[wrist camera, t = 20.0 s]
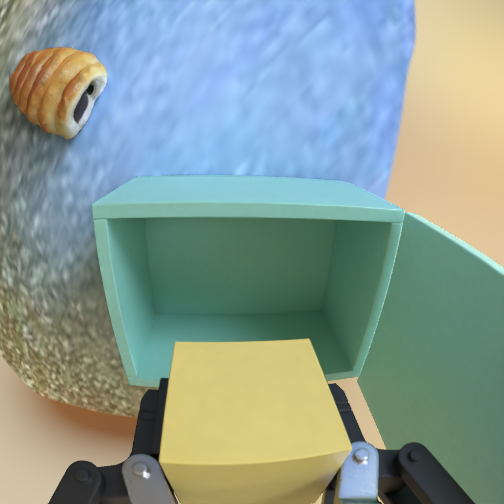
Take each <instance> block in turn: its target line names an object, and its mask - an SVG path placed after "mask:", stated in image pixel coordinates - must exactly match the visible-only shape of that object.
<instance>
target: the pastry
mask: <svg viewBox="0 0 504 504" xmlns="http://www.w3.org/2000/svg"><path fill="white" fill-rule="evenodd" d="M9 81H10V91H11V94H12V95H13V101H14V103H15V104H16V105H18V106H19V110H20V111H21V112H22V113H23V114H25V115H26V116H27V119H28V120H29V121H30V122H31V123H33V124H38V125H39V126H40V127H41V129H42V130H43V131H44V132H47V133H53V134H58V135H60V136H62V137H64V138H65V139H71V138H73V137H75V136H76V135H77V133H78V131H80V130H81V129H82V127H83V126H84V125H85V123H86V121H87V120H88V118H89V116H90V113H91V110H92V108H93V105H94V102H95V100H96V98H97V97H99V95H100V94H101V93H102V91H103V89H104V87H105V85H106V83H107V71H106V69H105V67H104V65H103V64H101V63H100V62H99V61H98V60H97V58H96V57H95V56H94V55H93V54H91V53H89V52H82V51H80V50H75V49H73V48H70V47H66V48H62V47H56V48H47V49H45V50H41V51H33V52H31V53H28V54H26V55H25V56H24V57H23V58H22V59H21V61H20V62H19V64H18V66H17V67H16V69H15V71H14V72H13V73H12V74H11V76H10V78H9Z"/></svg>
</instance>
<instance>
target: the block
mask: <svg viewBox="0 0 504 504" xmlns="http://www.w3.org/2000/svg"><path fill="white" fill-rule="evenodd" d="M351 450H352V445H351V443H350V440H349V438H348V435H347V432H346V430H345V427H344V425H343V422H342V419H341V417H340V414H339V412H338V409H337V406H336V404H335V401H334V399H333V396H332V394H331V391H330V389H329V386H328V384H327V381H326V378H325V376H324V373H323V371H322V368H321V366H320V363H319V361H318V358H317V356H316V353H315V351H314V348H313V346H312V343H311V341H310V339H293V340H274V341H245V342H179V341H176V342H175V343H174V349H173V355H172V362H171V368H170V374H169V381H168V388H167V395H166V403H165V410H164V418H163V426H162V435H161V444H160V453H159V463H160V465H161V467H162V469H163V471H164V473H165V475H166V477H167V479H168V481H169V483H170V485H171V487H172V489H173V491H174V492H175V494H176V496H177V498H178V500H179V502H180V503H181V504H313V503H315V502H316V501H317V499H318V498H319V497H320V495H321V494H322V493H323V491H324V490H325V489H326V487H327V486H328V485H329V483H330V482H331V480H332V479H333V477H334V476H335V475H336V473H337V472H338V470H339V469H340V467H341V466H342V464H343V463H344V461H345V460H346V458H347V457H348V455H349V453H350V452H351Z"/></svg>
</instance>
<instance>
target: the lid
mask: <svg viewBox="0 0 504 504" xmlns="http://www.w3.org/2000/svg"><path fill="white" fill-rule="evenodd" d="M357 382H358V384H359V386H360V389H361V391H362V393H363V396H364V398H365V400H366V402H367V405H368V407H369V409H370V412H371V414H372V416H373V418H374V421H375V423H376V425H377V428H378V429H379V432H380V435H381V437H382V440H383V442H384V444H385V447H386V449H387V450H400V449H401V448H402V447H403V446H404V445H405V444H407V443H411V442H417V443H420V444H422V445H424V446H425V447H426V448H427V449H428V450H429V451H430V452H431V454H432V455H433V456H434V457H435V458H436V459H437V460H438V462H439V463H440V464H441V465H442V466H443V467H444V468H445V470H446V471H447V472H448V473H449V474H450V475H451V476H452V478H453V479H454V480H455V481H456V482H457V483H458V484H459V486H460V487H461V488H462V489H463V490H464V491H465V492H466V494H467V495H468V496H469V497H470V498H471V499H472V500H473V502H474V503H475V504H504V268H503V267H502V266H500V265H499V264H497V263H496V262H495V261H493V260H492V259H490V258H489V257H487V256H485V255H484V254H483V253H481V252H479V251H478V250H476V249H475V248H473V247H472V246H470V245H469V244H467V243H465V242H464V241H462V240H461V239H459V238H457V237H456V236H454V235H452V234H451V233H449V232H447V231H446V230H444V229H442V228H441V227H439V226H437V225H435V224H434V223H432V222H430V221H428V220H427V219H425V218H423V217H421V216H419V215H417V214H415V213H408V212H406V213H405V214H404V219H403V225H402V230H401V235H400V240H399V244H398V249H397V253H396V258H395V262H394V266H393V270H392V274H391V278H390V282H389V286H388V290H387V293H386V297H385V300H384V304H383V307H382V311H381V314H380V317H379V321H378V324H377V327H376V330H375V333H374V336H373V339H372V342H371V345H370V348H369V351H368V354H367V356H366V359H365V362H364V365H363V367H362V370H361V373H360V375H359V378H358V380H357Z"/></svg>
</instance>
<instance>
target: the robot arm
mask: <svg viewBox="0 0 504 504" xmlns="http://www.w3.org/2000/svg"><path fill="white" fill-rule="evenodd" d="M324 376H325V375H324ZM325 378H326V377H325ZM168 381H169V378H161V379H160V384H159V390H150V389H149V390H148V391H147V392H146V394H145V395H144V396H143V397H142V399H141V404H140V411H139V414H138V420H137V425H136V430H135V436H134V441H133V448H132V452H131V454H130V456H129V457H128V458H127V459H126V460H125V461H124V462H122V463H120V464H117V465H113V466H104V467H96V466H95V465H94V464H93V463H91V462H88V461H76V462H74V463H72V464H71V465H70V466H69V467H68V469H67V470H66V472H65V474H64V476H63V477H62V479H61V481H60V483H59V485H58V487H57V488H56V490H55V492H54V494H53V496H52V498H51V499H50V501H49V503H48V504H178V501H177V499H176V497H175V495H174V491H173V489H172V487H171V485H170V483H169V481H168V479H167V477H166V475H165V473H164V471H163V469H162V467H161V465H160V463H159V453H160V444H161V435H162V426H163V418H164V410H165V403H166V395H167V388H168ZM326 381H327V380H326ZM327 384H328V382H327ZM328 386H329V389H330V391H331V394H332V396H333V399H334V401H335V404H336V406H337V409H338V412H339V414H340V417H341V419H342V422H343V425H344V427H345V430H346V432H347V435H348V438H349V440H350V443H351V445H352V450H351V452H350V453H349V455H348V457H347V458H346V460H345V461H344V463H343V464H342V466H341V467H340V469H339V470H338V472H337V473H336V475H335V476H334V477H333V479H332V480H331V482H330V483H329V485H328V486H327V487H326V489H325V490H324V491H323V497H322V503H321V504H382V503H381V502H379V501H378V496H379V498H380V499H381V500H382V502H383V503H384V504H475V503H474V502H473V500H472V499H471V498H470V497H469V496H468V495H467V494H466V492H465V491H464V490H463V489H462V488H461V487H460V486H459V484H458V483H457V482H456V481H455V480H454V479H453V478H452V476H451V475H450V474H449V473H448V472H447V471H446V470H445V468H444V467H443V466H442V465H441V464H440V463H439V462H438V460H437V459H436V458H435V457H434V456H433V455H432V454H431V452H430V451H429V450H428V449H427V448H426V447H425V446H424V445H422V444H420V443H417V442H411V443H407V444H405V445H404V446H403V447H402V448H401V449H400V450H382V449H377V448H375V447H374V446H373V445H371V444H370V443H367V442H366V441H365V439H364V437H363V435H362V433H361V430H360V428H359V425H358V423H357V421H356V418H355V416H354V414H353V411H352V410H351V407H350V404H349V403H348V400H347V397H346V395H345V393H344V391H343V390H342V389H341V388H340V387H339V386H338V385H337V384H336V383H334V384H328Z"/></svg>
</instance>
